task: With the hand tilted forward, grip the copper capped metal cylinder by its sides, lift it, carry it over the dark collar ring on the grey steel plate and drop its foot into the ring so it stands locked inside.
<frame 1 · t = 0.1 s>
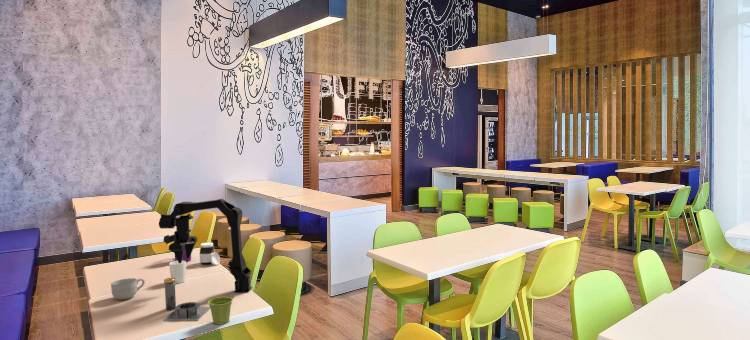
hand: (184, 260, 226), 15 cm above the table, tool pointing down, fingers open, 9 cm apart
copper capped metal cylinder: (171, 308, 203), on the table
rosette collar: (187, 314, 197), on the table
spread jar: (210, 264, 275), on the table
teacup: (128, 297, 219), on the table
white cup: (178, 281, 242), on the table
mug: (182, 260, 284), on the table
plant pot: (221, 322, 188), on the table
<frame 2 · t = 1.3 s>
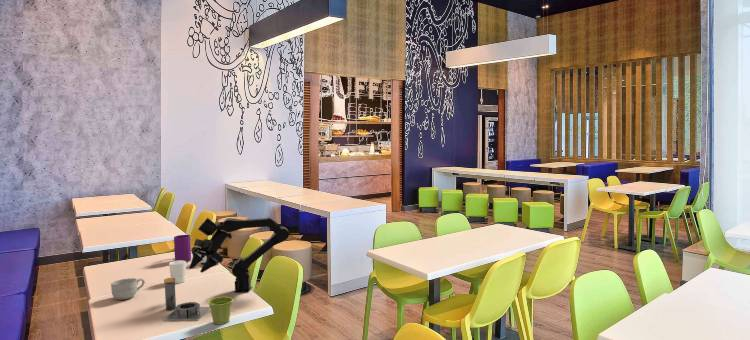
hand: (195, 270, 213), 14 cm above the table, tool tilted 45°, fingers open, 9 cm apart
nothing on the table moved.
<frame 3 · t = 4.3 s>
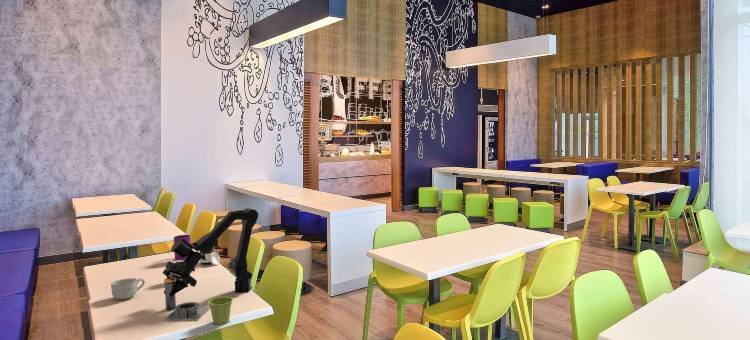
hand: (167, 294, 202), 7 cm above the table, tool tilted 45°, fingers closed on copper capped metal cylinder, 4 cm apart
copper capped metal cylinder: (171, 308, 203), on the table, touching gripper
everything else where it was.
when the fingers open (9 cm above the table, at t = 7.6 s): copper capped metal cylinder drops 2 cm, resting on rosette collar.
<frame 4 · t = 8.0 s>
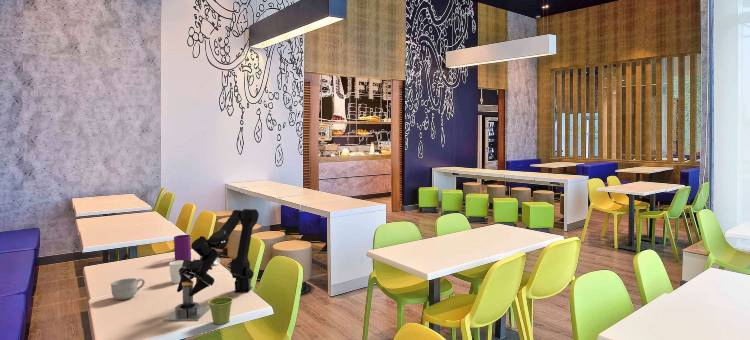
hand: (183, 293, 195), 9 cm above the table, tool tilted 45°, fingers open, 9 cm apart
copper capped metal cylinder: (188, 312, 197), point 1 cm above the table, touching rosette collar
everything else where it was.
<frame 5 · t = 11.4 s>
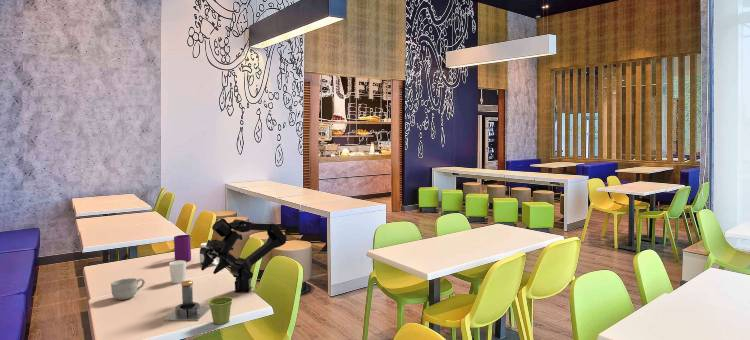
hand: (207, 271, 211), 14 cm above the table, tool tilted 45°, fingers open, 9 cm apart
nothing on the table moved.
at the end: copper capped metal cylinder 0.0 cm off-centre on the rosette collar, point 0.5 cm above the rosette collar's base; copper capped metal cylinder tilted 1°; the gripper is holding nothing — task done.
